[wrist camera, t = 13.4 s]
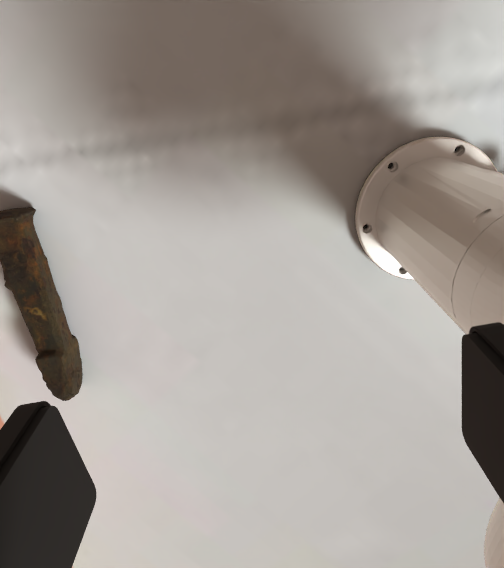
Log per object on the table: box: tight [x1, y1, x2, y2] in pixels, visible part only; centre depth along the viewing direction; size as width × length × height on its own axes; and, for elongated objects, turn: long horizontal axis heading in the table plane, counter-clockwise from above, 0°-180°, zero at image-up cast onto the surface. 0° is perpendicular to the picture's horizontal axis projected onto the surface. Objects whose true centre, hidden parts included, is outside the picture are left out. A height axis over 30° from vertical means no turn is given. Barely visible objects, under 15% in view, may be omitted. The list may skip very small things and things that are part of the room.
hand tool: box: [0, 207, 82, 401], centre depth 39 cm, size 19×4×5 cm, turn 6°
